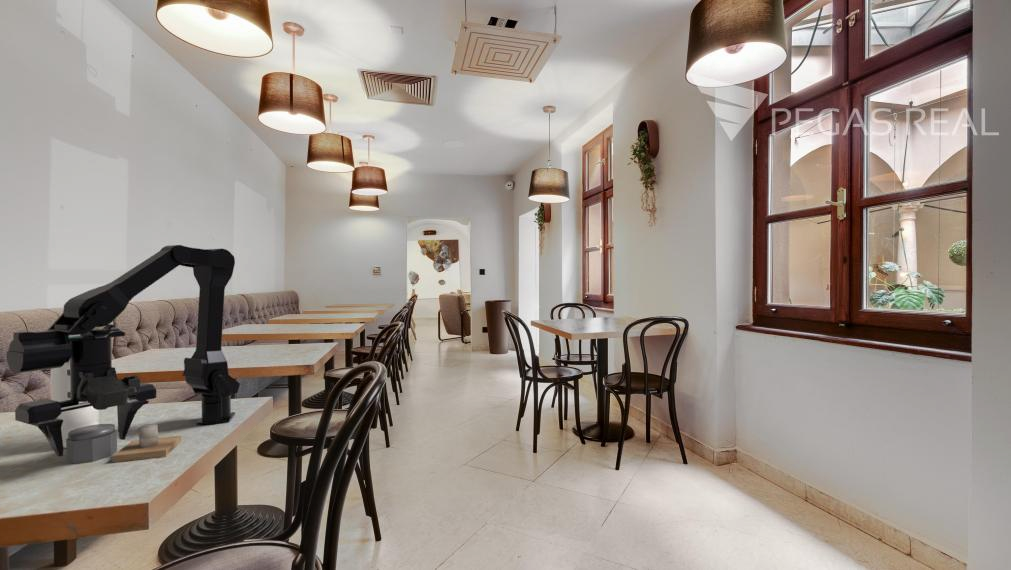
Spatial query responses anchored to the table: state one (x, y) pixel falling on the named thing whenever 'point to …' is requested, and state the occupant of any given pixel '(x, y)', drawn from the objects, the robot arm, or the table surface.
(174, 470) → the table surface
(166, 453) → the stud block
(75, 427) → the water bottle
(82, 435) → the cap
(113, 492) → the table surface
